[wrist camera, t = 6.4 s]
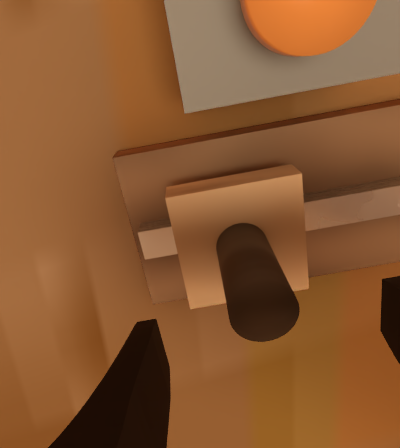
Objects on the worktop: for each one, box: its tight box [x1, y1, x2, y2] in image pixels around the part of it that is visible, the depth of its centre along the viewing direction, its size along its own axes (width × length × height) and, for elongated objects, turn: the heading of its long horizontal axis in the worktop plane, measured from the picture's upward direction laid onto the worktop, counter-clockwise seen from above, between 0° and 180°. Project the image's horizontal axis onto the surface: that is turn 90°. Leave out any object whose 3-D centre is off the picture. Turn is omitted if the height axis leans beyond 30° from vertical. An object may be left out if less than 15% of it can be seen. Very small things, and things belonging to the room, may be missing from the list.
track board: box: [113, 99, 400, 304], centre depth 20 cm, size 9×22×2 cm, turn 100°
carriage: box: [165, 164, 309, 342], centre depth 16 cm, size 6×6×8 cm
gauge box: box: [164, 0, 400, 113], centre depth 14 cm, size 7×8×6 cm
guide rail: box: [138, 177, 400, 260], centre depth 19 cm, size 2×21×1 cm, turn 100°
